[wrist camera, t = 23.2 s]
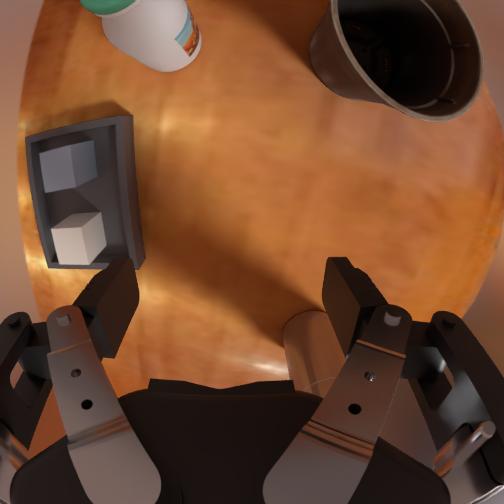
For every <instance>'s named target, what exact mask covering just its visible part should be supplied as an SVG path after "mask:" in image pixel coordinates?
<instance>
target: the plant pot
mask: <svg viewBox="0 0 504 504" xmlns="http://www.w3.org/2000/svg"><path fill="white" fill-rule="evenodd" d="M345 24H353V25H356V26H359V27H361V28H362V29H363V30H359V29H355V28H350V27H346V26H345ZM348 45H349V46H348ZM363 49H366V51H367V52H366V53H364V52H363V51H362V50H363ZM309 55H310V60H311V64H312V67H313V69H314V71H315V73H316V75H317V76H318V77H319V78H320V79H321V80H322V81H323V83H324V84H325V85H326V86H327V87H328V88H329V89H330V90H331V91H333V92H335V93H336V94H338V95H340V96H342V97H345V98H348V99H352V100H359V101H368V102H376V103H382V104H385V105H387V106H389V107H392V108H395V109H397V110H398V111H400V112H402V113H404V114H406V115H408V116H411V117H414V118H417V119H420V120H424V121H430V122H444V121H449V120H452V119H455V118H457V117H459V116H461V115H462V114H464V113H465V112H466V111H468V110H469V109H470V108H471V106H472V105H473V104H474V102H475V101H476V99H477V97H478V95H479V92H480V90H481V86H482V82H483V74H484V61H483V52H482V47H481V43H480V40H479V36H478V34H477V31H476V29H475V26H474V24H473V22H472V20H471V18H470V17H469V15H468V13H467V12H466V10H465V8H464V7H463V6H462V4H461V3H460V2H459V0H330V2H329V4H328V8H327V12H326V14H325V16H324V17H323V19H322V20H321V22H320V24H319V25H318V27H317V29H316V30H315V32H314V33H313V35H312V38H311V41H310V46H309ZM385 57H387V59H388V72H387V74H386V73H385V61H384V58H385ZM363 65H364V66H366V70H364V69H362V66H363Z"/></svg>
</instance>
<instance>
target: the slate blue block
mask: <svg viewBox="0 0 504 504" xmlns="http://www.w3.org/2000/svg"><path fill="white" fill-rule="evenodd" d="M39 155H40V163H41V170H42V177H43V183H44V189H45V193H48V192H53V191H58V190H63V189H68V188H74V187H77V186H79V185H81V184H83V183H85V182H87V181H89V180H92V179H94V178H96V177H98V175H97V167H96V159H95V150H94V140H91V141H86V142H82V143H77V144H72V145H68V146H64V147H61V148H57V149H53V150H50V151H46V152H43V153H39Z"/></svg>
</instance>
